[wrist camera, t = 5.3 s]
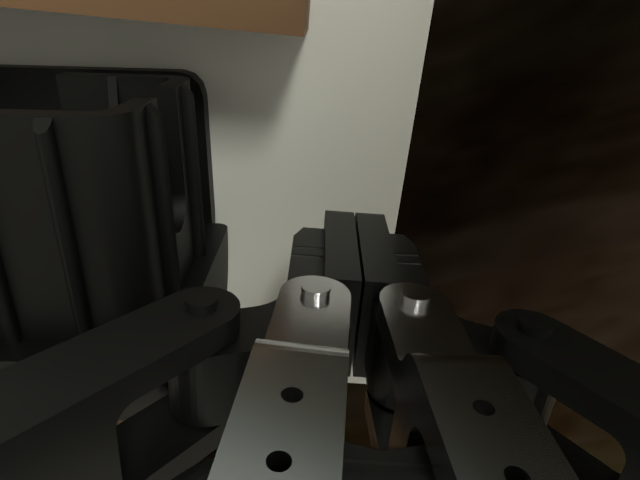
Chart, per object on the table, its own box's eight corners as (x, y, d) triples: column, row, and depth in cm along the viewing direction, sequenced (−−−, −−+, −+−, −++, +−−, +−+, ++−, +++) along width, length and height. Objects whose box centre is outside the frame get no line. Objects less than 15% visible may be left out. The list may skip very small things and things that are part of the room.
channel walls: (-330, -81, 12) (-533, -107, 9) (311, -15, 12) (308, -20, 10) (-169, 340, 17) (-267, 408, 14) (281, 375, 17) (274, 447, 15)
